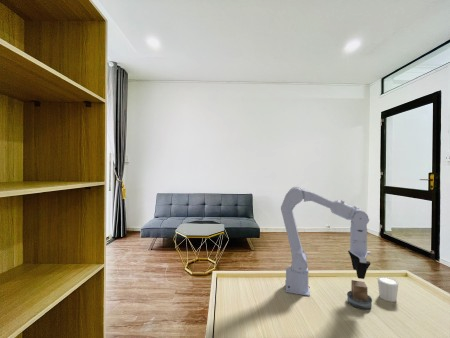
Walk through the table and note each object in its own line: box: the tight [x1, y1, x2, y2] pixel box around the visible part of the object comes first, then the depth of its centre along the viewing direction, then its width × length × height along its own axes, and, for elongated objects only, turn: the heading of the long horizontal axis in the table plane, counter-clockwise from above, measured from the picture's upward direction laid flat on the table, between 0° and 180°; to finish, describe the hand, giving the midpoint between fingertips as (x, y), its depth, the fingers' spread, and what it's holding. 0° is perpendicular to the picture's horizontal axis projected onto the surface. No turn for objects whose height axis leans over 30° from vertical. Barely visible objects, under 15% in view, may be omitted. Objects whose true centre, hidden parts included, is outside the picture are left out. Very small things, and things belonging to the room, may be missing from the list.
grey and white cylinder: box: [377, 276, 399, 303], centre depth 91 cm, size 7×7×7 cm
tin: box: [346, 290, 373, 311], centre depth 87 cm, size 8×8×3 cm
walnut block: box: [350, 279, 368, 301], centre depth 87 cm, size 4×4×5 cm
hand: (358, 273), depth 89 cm, fingers open, 7 cm apart
